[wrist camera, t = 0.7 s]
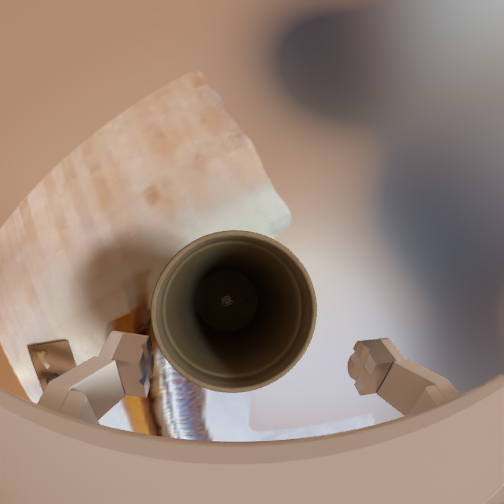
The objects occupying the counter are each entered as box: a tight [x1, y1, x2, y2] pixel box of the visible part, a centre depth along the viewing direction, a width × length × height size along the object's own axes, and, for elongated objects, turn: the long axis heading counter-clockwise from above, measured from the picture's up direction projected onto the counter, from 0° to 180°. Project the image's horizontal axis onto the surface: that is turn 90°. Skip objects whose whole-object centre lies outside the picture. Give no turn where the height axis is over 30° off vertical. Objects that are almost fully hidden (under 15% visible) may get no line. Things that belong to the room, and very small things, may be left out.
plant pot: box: [151, 230, 317, 393], centre depth 49 cm, size 25×25×22 cm
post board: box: [28, 340, 77, 390], centre depth 47 cm, size 18×14×6 cm
